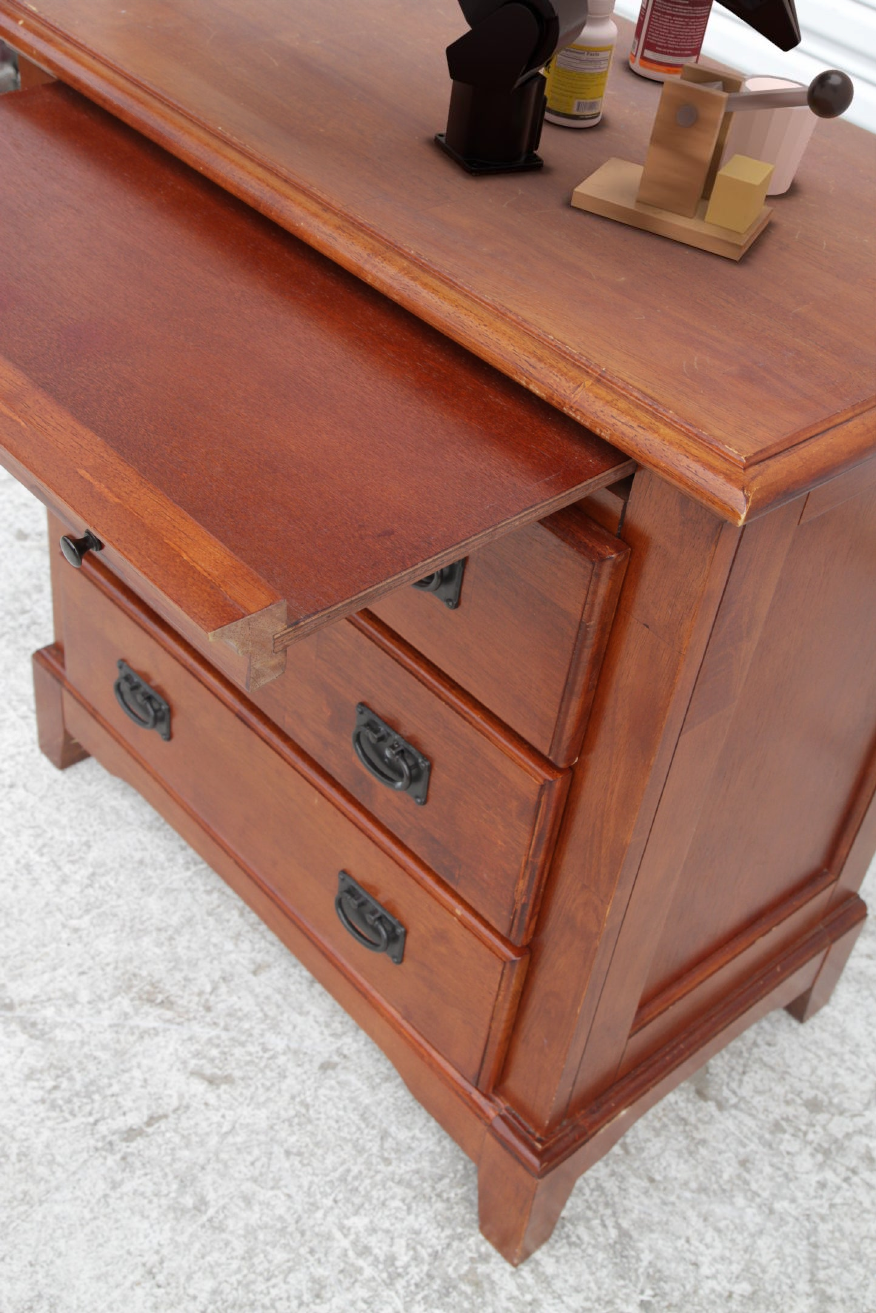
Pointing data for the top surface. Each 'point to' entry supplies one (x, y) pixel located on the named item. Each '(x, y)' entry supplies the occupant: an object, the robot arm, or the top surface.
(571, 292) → the top surface
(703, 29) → the pill bottle
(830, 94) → the lever
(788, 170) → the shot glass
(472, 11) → the robot arm
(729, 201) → the butter
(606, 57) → the supplement bottle
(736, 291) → the top surface
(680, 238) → the butter cutter
